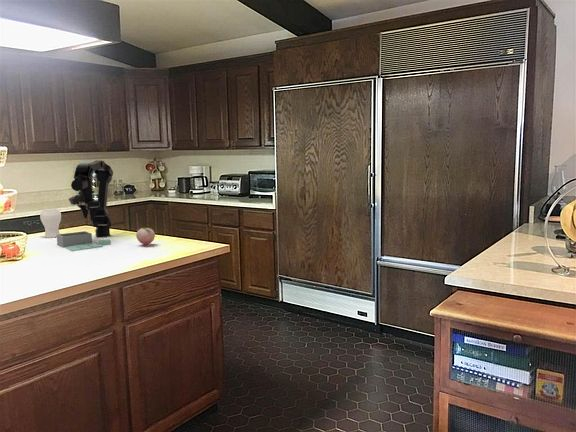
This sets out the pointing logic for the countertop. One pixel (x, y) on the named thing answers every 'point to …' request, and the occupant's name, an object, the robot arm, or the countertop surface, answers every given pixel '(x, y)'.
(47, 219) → the cup
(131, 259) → the countertop surface
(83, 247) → the lid
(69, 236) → the tub
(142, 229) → the decorative fruit
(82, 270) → the countertop surface
